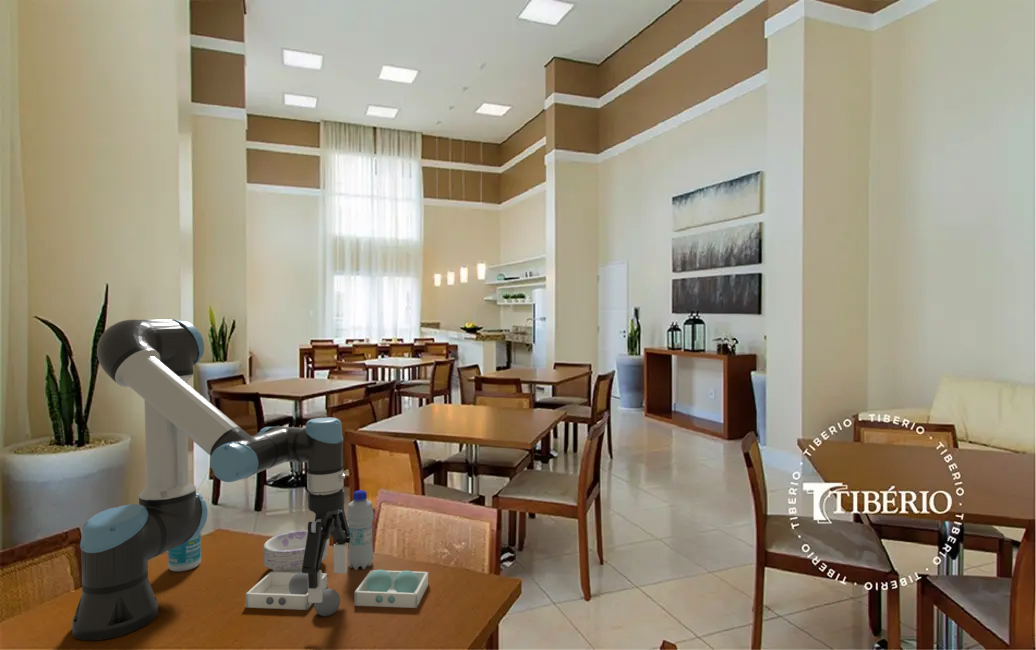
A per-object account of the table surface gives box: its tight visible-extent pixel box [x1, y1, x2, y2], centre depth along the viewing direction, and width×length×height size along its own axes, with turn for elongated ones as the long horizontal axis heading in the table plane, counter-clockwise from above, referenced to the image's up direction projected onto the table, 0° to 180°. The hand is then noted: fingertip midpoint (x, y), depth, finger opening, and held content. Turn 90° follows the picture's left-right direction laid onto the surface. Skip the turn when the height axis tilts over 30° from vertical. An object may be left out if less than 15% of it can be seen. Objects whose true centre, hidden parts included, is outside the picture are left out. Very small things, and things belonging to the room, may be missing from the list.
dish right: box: [353, 569, 429, 609], centre depth 135 cm, size 14×11×4 cm
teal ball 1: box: [367, 568, 391, 592], centre depth 135 cm, size 6×6×6 cm
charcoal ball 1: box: [289, 572, 308, 595], centre depth 134 cm, size 6×6×6 cm
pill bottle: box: [167, 531, 202, 572], centre depth 151 cm, size 8×7×14 cm
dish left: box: [245, 571, 329, 611], centre depth 134 cm, size 14×12×4 cm
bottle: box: [346, 489, 375, 571], centre depth 151 cm, size 7×7×20 cm
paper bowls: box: [263, 529, 328, 572], centre depth 149 cm, size 15×15×8 cm
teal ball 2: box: [394, 569, 418, 593], centre depth 135 cm, size 6×6×6 cm
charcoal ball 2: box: [313, 588, 341, 617], centre depth 127 cm, size 6×6×6 cm
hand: (328, 586), depth 127 cm, fingers open, 13 cm apart
